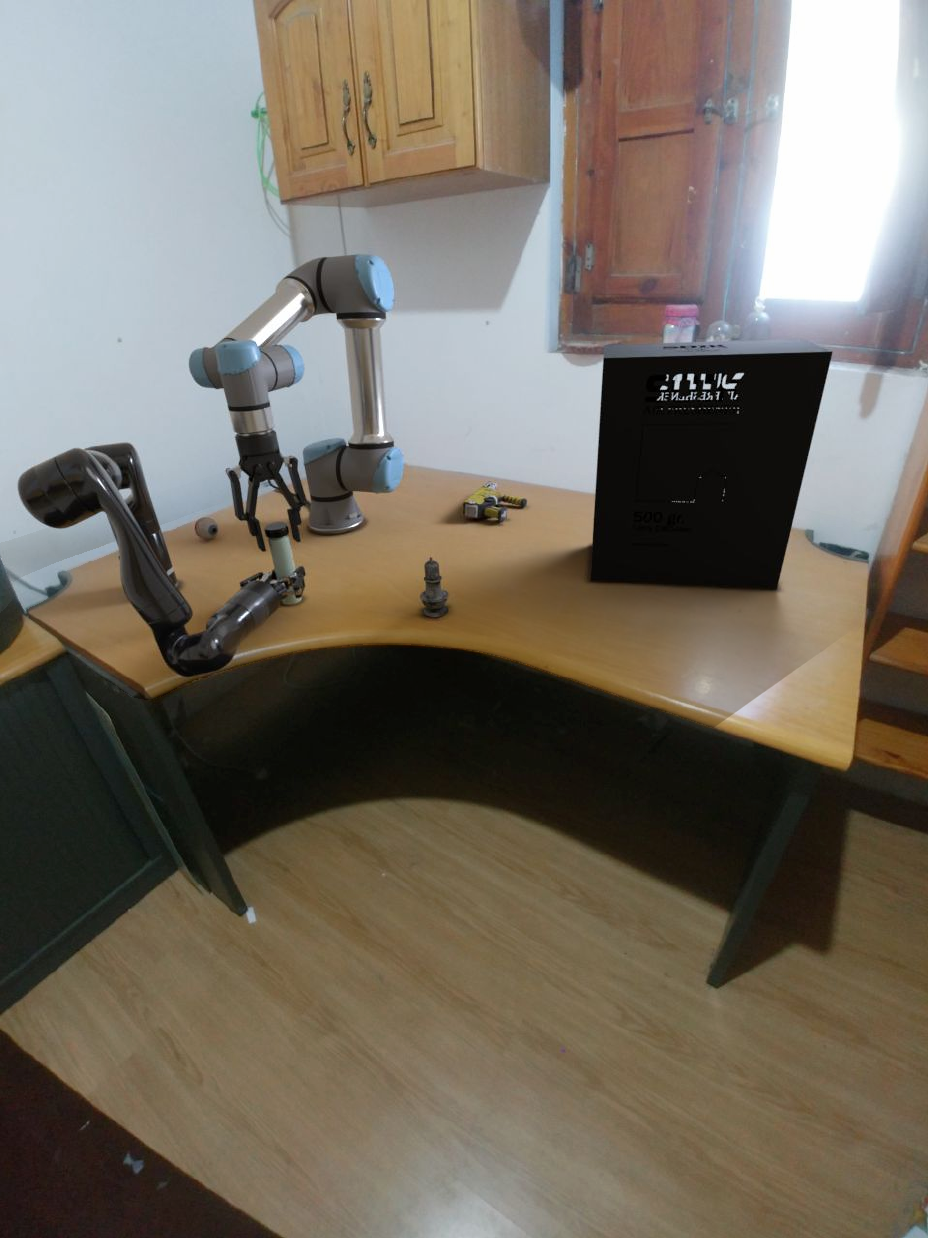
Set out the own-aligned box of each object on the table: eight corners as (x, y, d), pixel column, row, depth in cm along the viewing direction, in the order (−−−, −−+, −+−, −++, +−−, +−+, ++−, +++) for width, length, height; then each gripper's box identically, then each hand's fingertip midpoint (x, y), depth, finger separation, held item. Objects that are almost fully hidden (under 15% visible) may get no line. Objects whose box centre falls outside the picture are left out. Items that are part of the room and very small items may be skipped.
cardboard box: (756, 549, 141) (800, 338, 118) (776, 589, 124) (832, 351, 101) (592, 544, 148) (604, 344, 126) (590, 580, 131) (603, 357, 109)
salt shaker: (446, 618, 120) (442, 563, 114) (417, 616, 122) (412, 562, 116) (452, 604, 125) (448, 551, 119) (425, 602, 126) (420, 550, 120)
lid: (260, 536, 123) (258, 528, 122) (277, 528, 126) (275, 520, 125) (277, 540, 121) (275, 531, 120) (294, 531, 124) (292, 523, 123)
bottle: (297, 605, 129) (282, 533, 121) (279, 604, 130) (262, 533, 121) (304, 595, 133) (289, 525, 124) (286, 595, 133) (270, 526, 125)
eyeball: (208, 544, 161) (202, 523, 158) (193, 540, 164) (187, 519, 161) (226, 536, 166) (220, 516, 163) (211, 533, 169) (205, 512, 166)
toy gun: (534, 486, 180) (487, 479, 184) (513, 510, 160) (461, 501, 164) (533, 501, 182) (486, 494, 186) (512, 527, 162) (460, 518, 166)
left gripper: (279, 592, 113) (319, 555, 127) (213, 587, 116) (259, 551, 130) (287, 627, 116) (325, 586, 131) (223, 621, 120) (267, 582, 134)
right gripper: (297, 419, 120) (317, 528, 132) (196, 437, 111) (227, 551, 123) (311, 425, 115) (331, 538, 126) (206, 444, 106) (237, 563, 117)
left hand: (292, 569), depth 130 cm, fingers closed on bottle, 4 cm apart
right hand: (279, 544), depth 125 cm, fingers open, 7 cm apart
